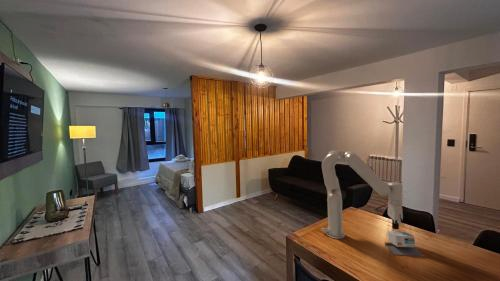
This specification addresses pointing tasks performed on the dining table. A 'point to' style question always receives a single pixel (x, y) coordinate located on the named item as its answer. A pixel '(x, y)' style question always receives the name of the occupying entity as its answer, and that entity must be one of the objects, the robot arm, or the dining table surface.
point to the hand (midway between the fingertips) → (395, 228)
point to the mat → (404, 251)
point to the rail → (389, 244)
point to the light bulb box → (401, 239)
